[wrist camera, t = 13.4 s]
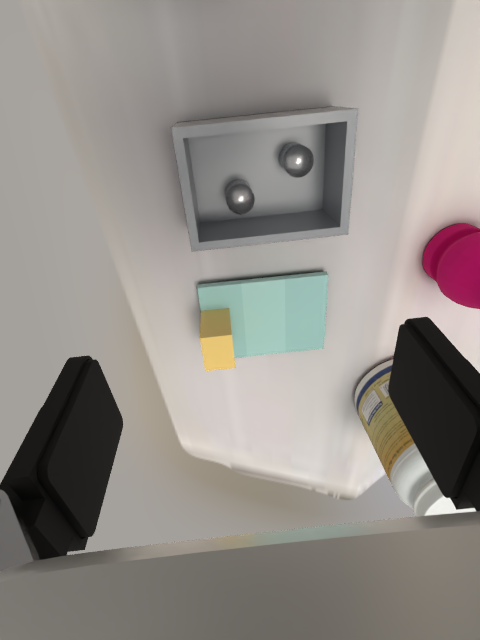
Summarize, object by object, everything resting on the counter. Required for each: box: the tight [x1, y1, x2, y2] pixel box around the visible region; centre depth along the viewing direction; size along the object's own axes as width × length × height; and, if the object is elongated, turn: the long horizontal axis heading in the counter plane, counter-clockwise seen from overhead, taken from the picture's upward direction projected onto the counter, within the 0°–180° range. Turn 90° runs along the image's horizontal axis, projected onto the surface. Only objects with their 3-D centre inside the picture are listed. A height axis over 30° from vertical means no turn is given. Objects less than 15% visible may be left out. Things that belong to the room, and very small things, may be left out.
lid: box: [197, 272, 328, 371], centre depth 37 cm, size 13×9×7 cm
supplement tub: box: [355, 359, 476, 516], centre depth 41 cm, size 12×12×17 cm
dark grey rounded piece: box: [225, 179, 255, 214], centre depth 31 cm, size 2×2×2 cm
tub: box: [171, 106, 358, 252], centre depth 30 cm, size 13×9×6 cm
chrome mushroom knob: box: [279, 142, 314, 178], centre depth 30 cm, size 2×2×2 cm
